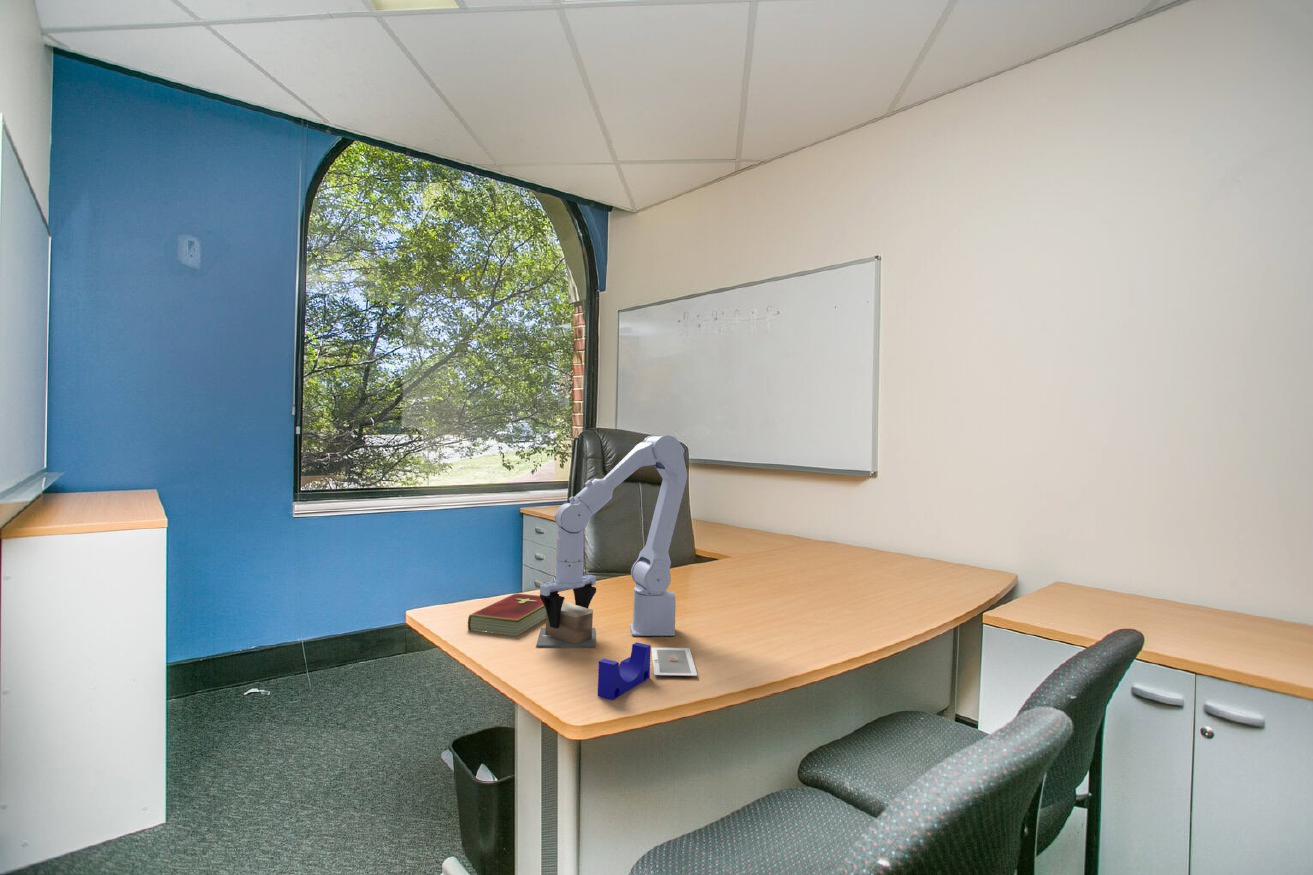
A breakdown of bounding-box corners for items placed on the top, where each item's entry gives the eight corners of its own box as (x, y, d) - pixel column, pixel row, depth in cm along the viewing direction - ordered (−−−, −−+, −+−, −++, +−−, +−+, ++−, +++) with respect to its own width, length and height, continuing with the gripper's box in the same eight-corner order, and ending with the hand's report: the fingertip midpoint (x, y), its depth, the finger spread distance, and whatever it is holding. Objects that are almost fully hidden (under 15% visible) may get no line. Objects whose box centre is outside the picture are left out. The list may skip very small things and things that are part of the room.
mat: (595, 629, 140) (595, 627, 140) (595, 647, 128) (595, 644, 128) (540, 629, 139) (540, 627, 139) (536, 647, 127) (536, 644, 127)
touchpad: (689, 653, 128) (689, 642, 128) (697, 681, 113) (697, 669, 113) (651, 652, 128) (651, 642, 128) (654, 680, 113) (654, 668, 113)
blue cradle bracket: (628, 673, 115) (629, 640, 115) (649, 678, 113) (650, 645, 113) (590, 695, 105) (591, 659, 105) (612, 701, 102) (613, 664, 103)
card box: (562, 628, 138) (563, 601, 138) (592, 638, 133) (593, 609, 133) (545, 634, 134) (545, 605, 134) (574, 644, 129) (575, 614, 129)
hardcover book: (467, 632, 137) (468, 613, 137) (513, 608, 157) (514, 591, 157) (517, 638, 134) (517, 619, 134) (557, 613, 154) (558, 596, 154)
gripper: (557, 567, 126) (555, 634, 126) (606, 558, 137) (604, 620, 137) (534, 562, 130) (531, 627, 130) (583, 553, 141) (581, 614, 141)
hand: (567, 623), depth 134 cm, fingers open, 7 cm apart
